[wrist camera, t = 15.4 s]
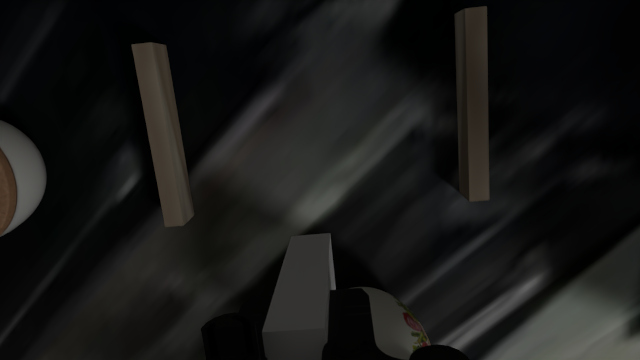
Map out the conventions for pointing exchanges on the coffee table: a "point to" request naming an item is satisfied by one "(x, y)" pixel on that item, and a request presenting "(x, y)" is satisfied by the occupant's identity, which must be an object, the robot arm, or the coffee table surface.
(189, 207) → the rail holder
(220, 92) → the coffee table surface
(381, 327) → the pitcher
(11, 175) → the lidded jar
